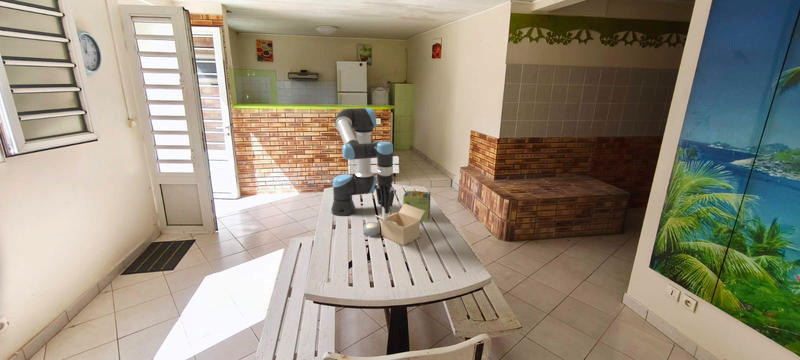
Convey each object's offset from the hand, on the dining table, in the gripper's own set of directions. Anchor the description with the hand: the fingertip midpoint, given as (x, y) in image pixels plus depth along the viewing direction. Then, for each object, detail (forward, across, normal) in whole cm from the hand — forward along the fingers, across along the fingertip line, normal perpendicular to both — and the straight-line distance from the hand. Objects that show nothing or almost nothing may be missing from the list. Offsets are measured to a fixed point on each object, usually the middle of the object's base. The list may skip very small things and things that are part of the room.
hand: (385, 218), depth 173 cm
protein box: (+15, -10, +38) cm, 42 cm away
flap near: (+2, 0, +3) cm, 3 cm away
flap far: (+2, 0, +21) cm, 21 cm away
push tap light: (+15, -14, +4) cm, 21 cm away
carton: (+14, 0, +12) cm, 19 cm away
